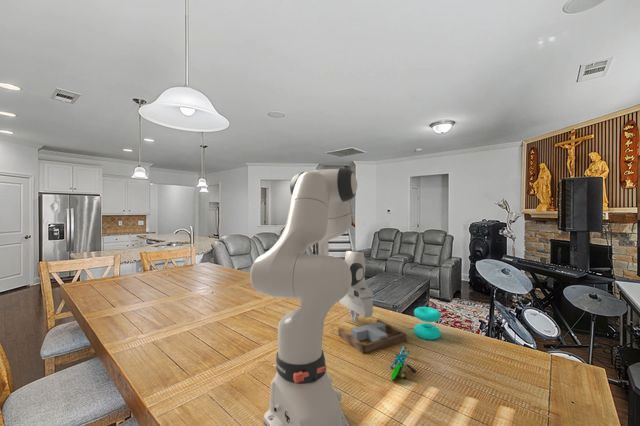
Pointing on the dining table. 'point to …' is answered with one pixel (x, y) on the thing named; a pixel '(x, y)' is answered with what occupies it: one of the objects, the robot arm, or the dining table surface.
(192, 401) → the dining table surface
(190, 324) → the dining table surface
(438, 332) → the donuts
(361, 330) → the T-block
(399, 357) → the stick construction toy
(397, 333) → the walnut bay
